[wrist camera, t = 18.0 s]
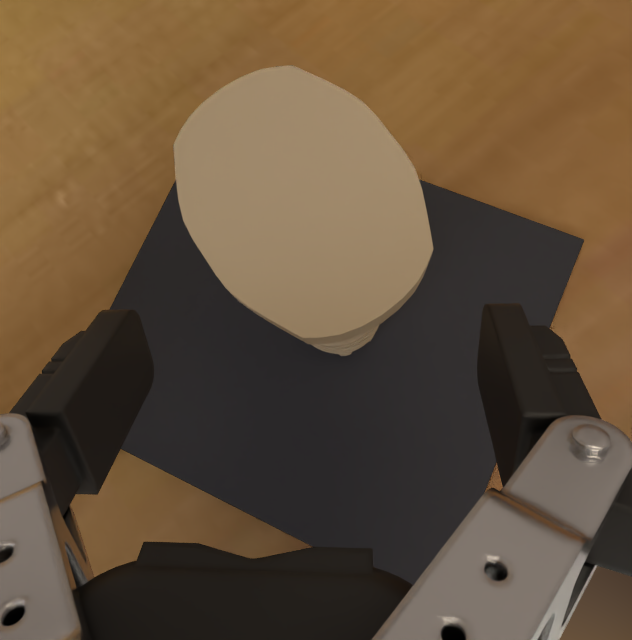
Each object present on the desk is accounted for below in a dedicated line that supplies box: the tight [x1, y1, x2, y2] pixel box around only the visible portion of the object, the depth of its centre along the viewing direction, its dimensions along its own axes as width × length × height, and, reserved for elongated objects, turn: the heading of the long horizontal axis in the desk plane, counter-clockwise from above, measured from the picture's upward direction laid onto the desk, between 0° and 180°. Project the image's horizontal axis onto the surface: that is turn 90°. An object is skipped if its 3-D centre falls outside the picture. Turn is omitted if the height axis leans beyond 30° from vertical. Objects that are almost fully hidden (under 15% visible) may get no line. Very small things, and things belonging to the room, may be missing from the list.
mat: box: [110, 180, 584, 585], centre depth 27 cm, size 20×18×1 cm
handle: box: [173, 65, 433, 356], centre depth 19 cm, size 5×6×15 cm
